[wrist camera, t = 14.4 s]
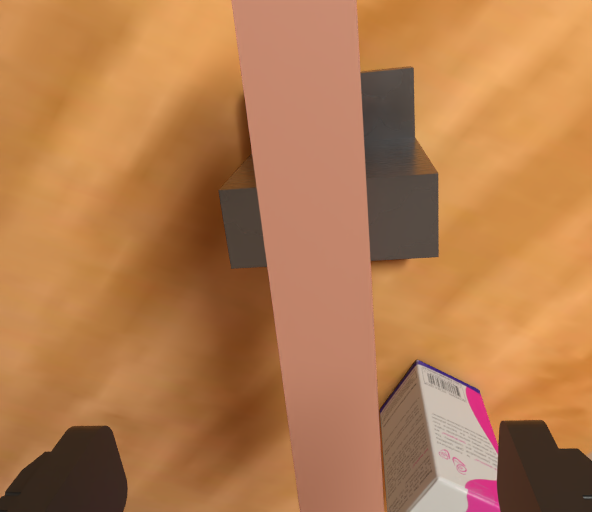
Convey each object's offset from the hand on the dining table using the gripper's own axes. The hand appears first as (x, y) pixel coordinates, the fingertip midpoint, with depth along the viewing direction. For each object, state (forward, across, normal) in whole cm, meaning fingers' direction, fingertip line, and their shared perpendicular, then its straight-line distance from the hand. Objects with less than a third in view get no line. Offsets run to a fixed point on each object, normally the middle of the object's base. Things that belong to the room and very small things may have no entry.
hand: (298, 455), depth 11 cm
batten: (+15, 0, 0) cm, 15 cm away
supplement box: (+26, -6, +19) cm, 33 cm away
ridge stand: (+26, 0, 0) cm, 26 cm away
